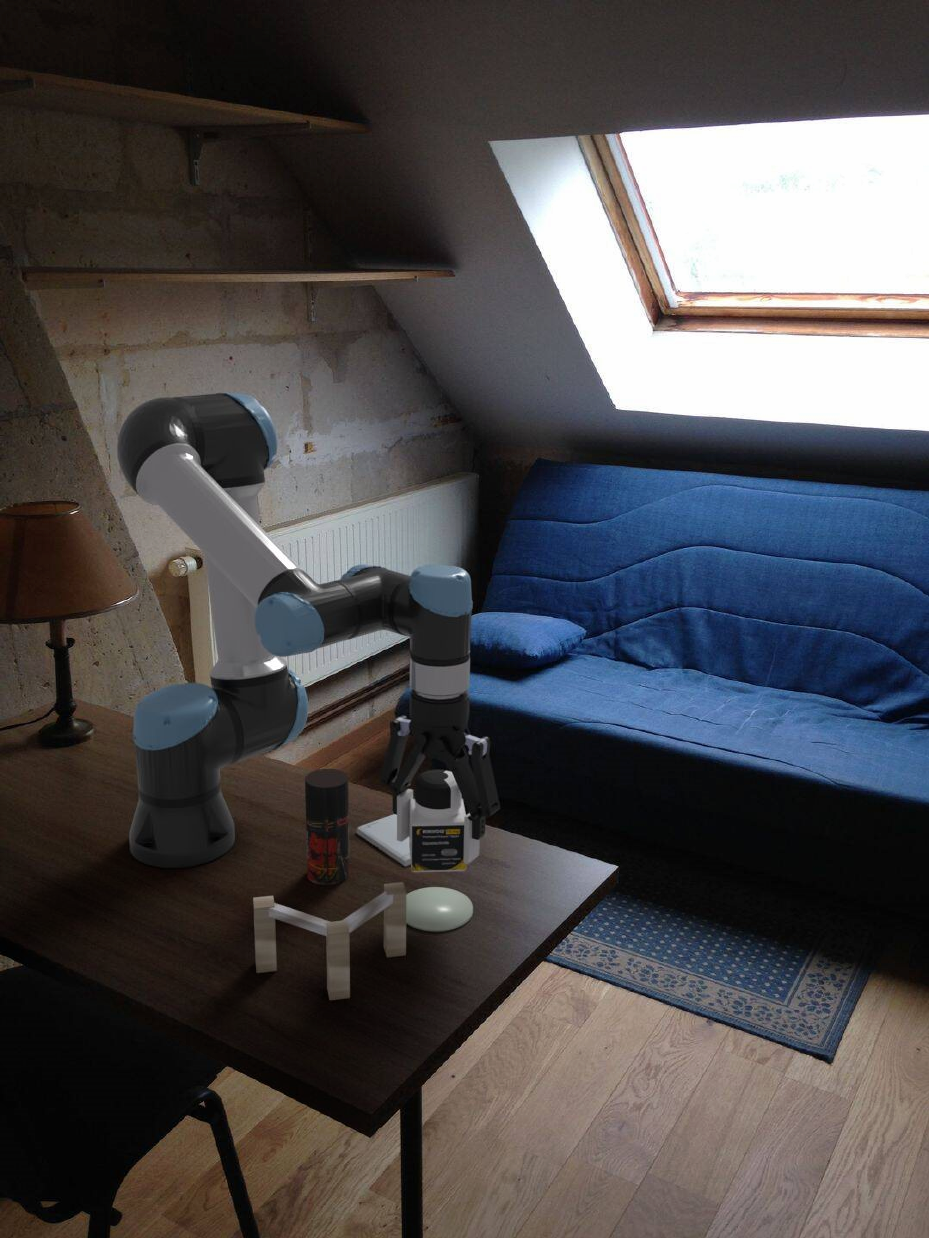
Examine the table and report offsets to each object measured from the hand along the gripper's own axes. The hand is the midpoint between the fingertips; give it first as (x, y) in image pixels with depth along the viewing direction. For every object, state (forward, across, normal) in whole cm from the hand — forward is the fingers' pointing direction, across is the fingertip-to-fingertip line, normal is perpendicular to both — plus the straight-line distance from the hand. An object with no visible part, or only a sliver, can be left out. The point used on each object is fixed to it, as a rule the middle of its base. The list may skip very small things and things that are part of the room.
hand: (437, 847), depth 144 cm
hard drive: (+10, +15, -13) cm, 22 cm away
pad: (+10, 0, 0) cm, 10 cm away
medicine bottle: (+2, 0, 0) cm, 2 cm away
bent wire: (+10, +3, +19) cm, 21 cm away
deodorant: (+10, +18, +1) cm, 20 cm away
